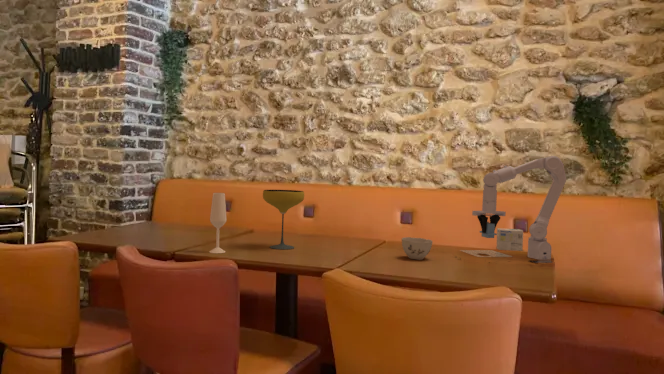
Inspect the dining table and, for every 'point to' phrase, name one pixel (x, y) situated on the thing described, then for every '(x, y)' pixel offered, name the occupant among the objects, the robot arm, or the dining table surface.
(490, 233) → the servo
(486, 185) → the robot arm
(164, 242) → the dining table surface
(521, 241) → the light bulb box
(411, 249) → the teacup
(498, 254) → the silver flat plate
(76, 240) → the dining table surface
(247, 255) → the dining table surface
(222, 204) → the champagne flute
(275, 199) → the cocktail glass
